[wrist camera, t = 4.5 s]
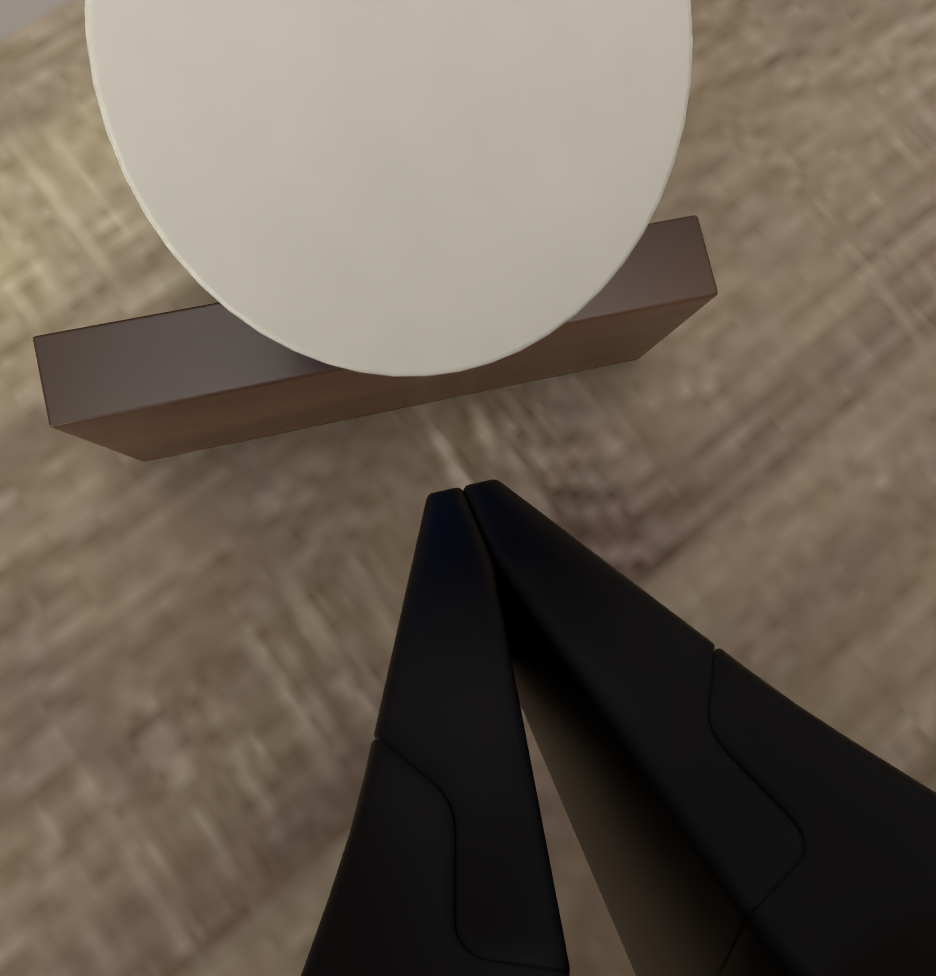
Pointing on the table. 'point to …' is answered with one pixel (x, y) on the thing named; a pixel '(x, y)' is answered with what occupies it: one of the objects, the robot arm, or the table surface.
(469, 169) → the blue tube
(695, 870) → the robot arm
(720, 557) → the table surface
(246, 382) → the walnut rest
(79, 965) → the table surface
